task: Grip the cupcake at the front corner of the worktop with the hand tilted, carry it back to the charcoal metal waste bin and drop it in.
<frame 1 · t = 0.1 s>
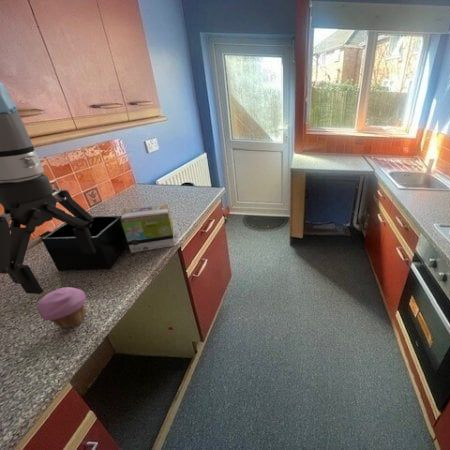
hand: (65, 270, 55), 19 cm above the countertop, tool pointing down, fingers open, 13 cm apart
waste bin: (98, 256, 90), on the countertop
tea box: (154, 244, 99), on the countertop
cupcake: (73, 321, 65), on the countertop
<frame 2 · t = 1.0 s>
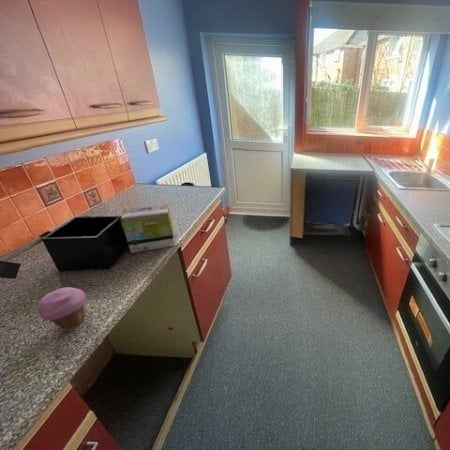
nothing on the countertop moved.
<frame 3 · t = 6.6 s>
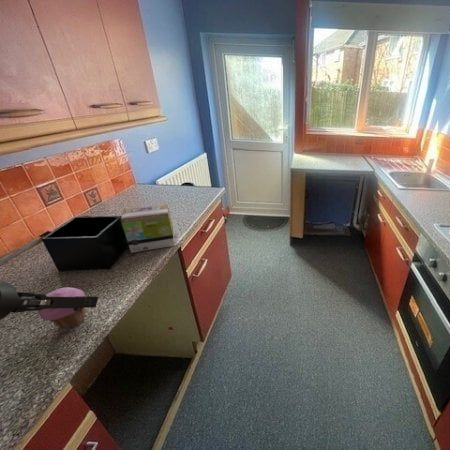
hand: (77, 301, 66), 4 cm above the countertop, tool tilted 45°, fingers closed on cupcake, 9 cm apart
cupcake: (73, 322, 65), on the countertop, touching gripper
everything else where it was.
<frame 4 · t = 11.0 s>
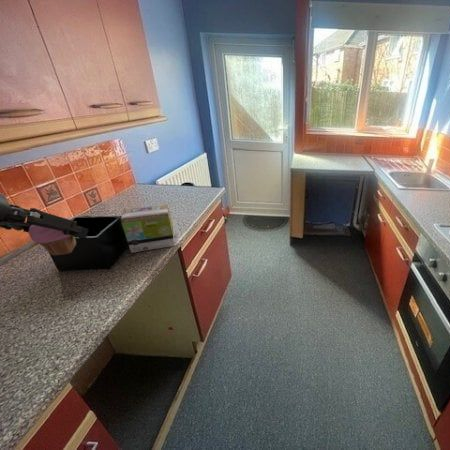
hand: (68, 233, 68), 19 cm above the countertop, tool tilted 45°, fingers closed on cupcake, 9 cm apart
cupcake: (64, 252, 67), point 15 cm above the countertop, touching gripper
everything else where it was.
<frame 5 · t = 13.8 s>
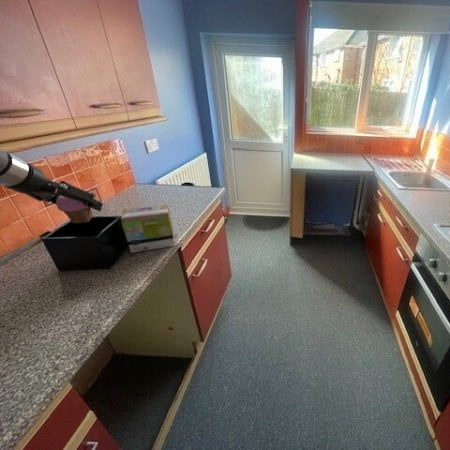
hand: (86, 206, 83), 19 cm above the countertop, tool tilted 45°, fingers closed on cupcake, 9 cm apart
cupcake: (82, 221, 82), point 15 cm above the countertop, touching gripper
everything else where it was.
when the fingers open (14 cm above the countertop, at t = 15.8 s): cupcake drops 9 cm, resting on waste bin.
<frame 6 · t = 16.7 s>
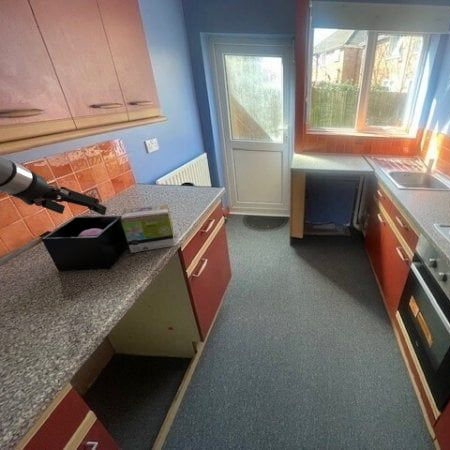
hand: (83, 210, 83), 17 cm above the countertop, tool tilted 45°, fingers open, 13 cm apart
cupcake: (97, 255, 89), point 1 cm above the countertop, touching waste bin
everything else where it was.
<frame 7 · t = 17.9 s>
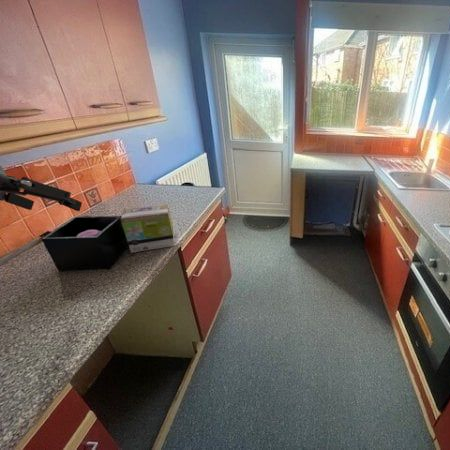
hand: (55, 206, 73), 23 cm above the countertop, tool tilted 45°, fingers open, 13 cm apart
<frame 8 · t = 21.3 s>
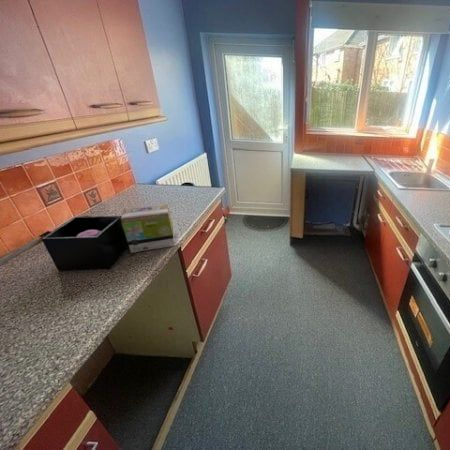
nothing on the countertop moved.
at the end: cupcake inside the target area in the waste bin (0.1 cm from its centre), point 0.4 cm above the waste bin's base; the gripper is holding nothing; cupcake moved 31.2 cm from its start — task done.
